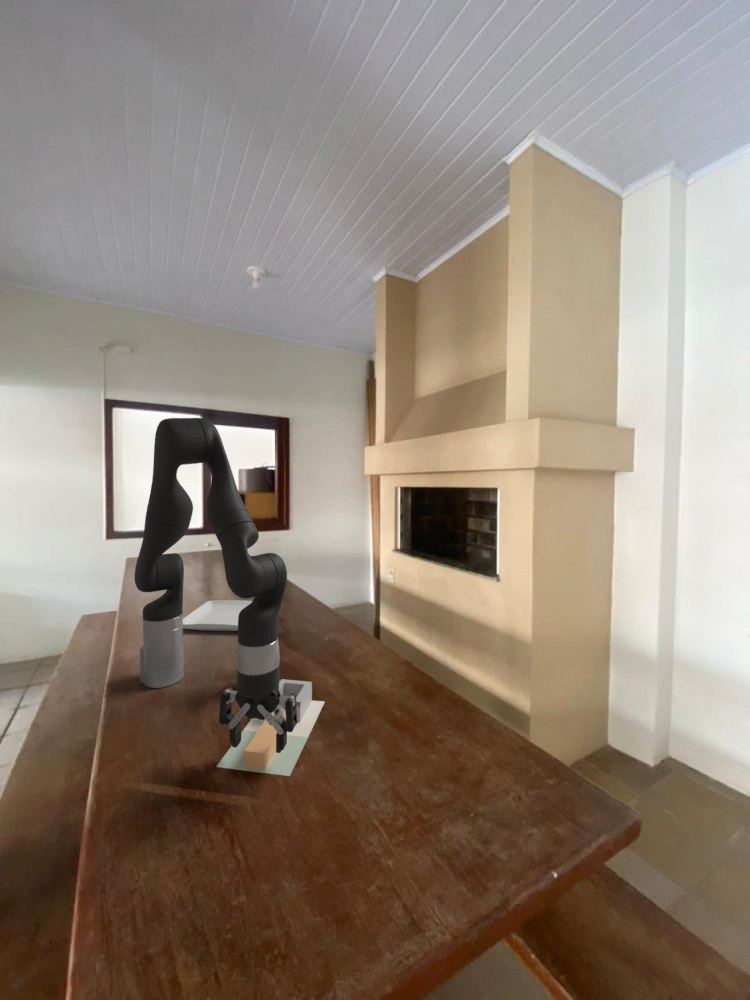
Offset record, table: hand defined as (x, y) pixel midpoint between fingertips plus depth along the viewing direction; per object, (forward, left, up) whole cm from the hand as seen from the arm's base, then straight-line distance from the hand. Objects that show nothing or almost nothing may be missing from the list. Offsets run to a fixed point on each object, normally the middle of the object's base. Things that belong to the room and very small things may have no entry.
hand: (258, 747), depth 73 cm
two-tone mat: (0, +9, -4) cm, 10 cm away
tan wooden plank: (0, +4, -3) cm, 5 cm away
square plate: (-43, +68, -4) cm, 81 cm away
